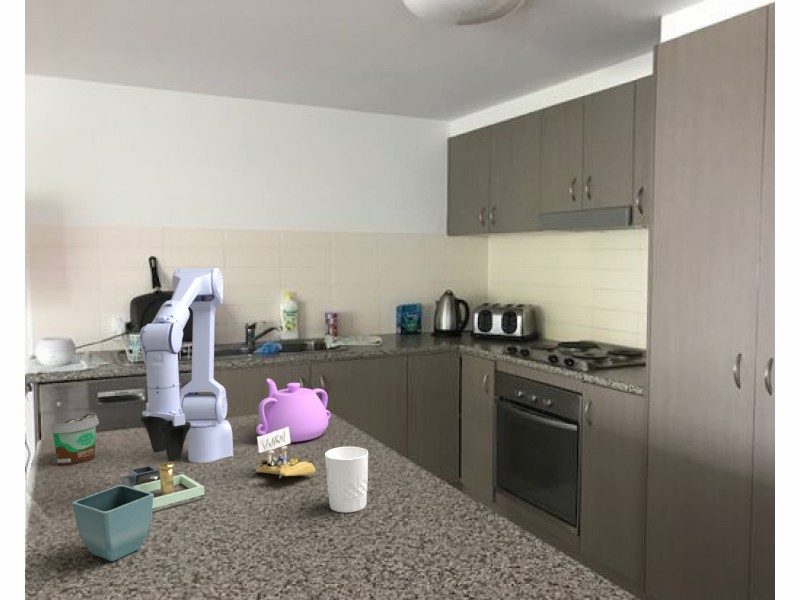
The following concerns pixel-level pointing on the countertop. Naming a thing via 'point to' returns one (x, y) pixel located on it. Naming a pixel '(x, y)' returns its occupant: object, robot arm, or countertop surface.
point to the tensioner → (142, 475)
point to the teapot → (294, 412)
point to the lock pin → (166, 478)
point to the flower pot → (114, 520)
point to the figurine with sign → (281, 456)
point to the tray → (193, 491)
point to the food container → (75, 440)
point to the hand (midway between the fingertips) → (166, 455)
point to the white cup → (347, 478)
